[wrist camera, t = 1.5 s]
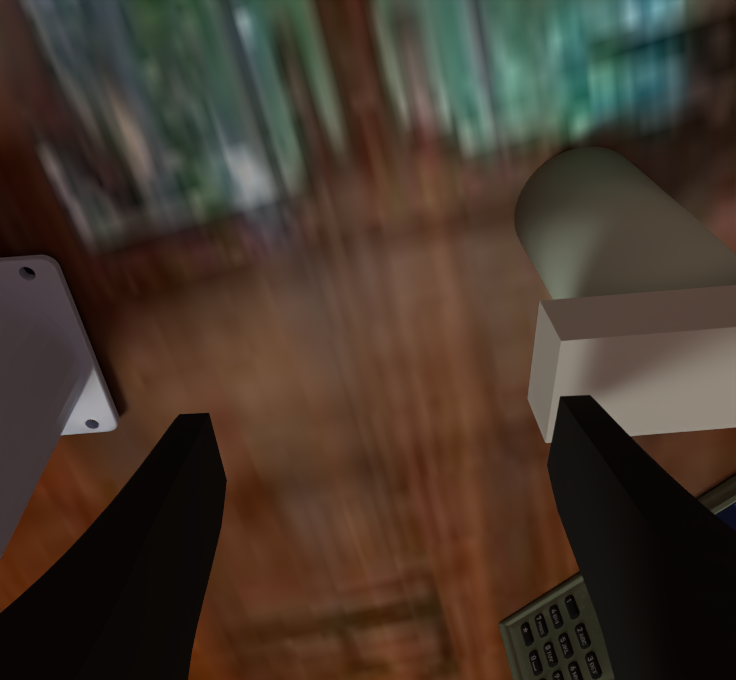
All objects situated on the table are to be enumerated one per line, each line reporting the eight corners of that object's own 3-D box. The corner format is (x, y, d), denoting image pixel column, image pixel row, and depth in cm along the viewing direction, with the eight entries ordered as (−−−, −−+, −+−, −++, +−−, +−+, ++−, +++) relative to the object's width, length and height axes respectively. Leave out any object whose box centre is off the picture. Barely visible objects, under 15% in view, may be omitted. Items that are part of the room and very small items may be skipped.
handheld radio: (488, 618, 37) (908, 349, 27) (524, 633, 39) (936, 383, 28) (519, 743, 32) (1060, 469, 21) (560, 755, 33) (1085, 503, 23)
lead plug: (509, 269, 23) (571, 393, 17) (519, 151, 20) (596, 251, 15) (628, 260, 23) (728, 380, 17) (653, 141, 20) (781, 236, 15)
